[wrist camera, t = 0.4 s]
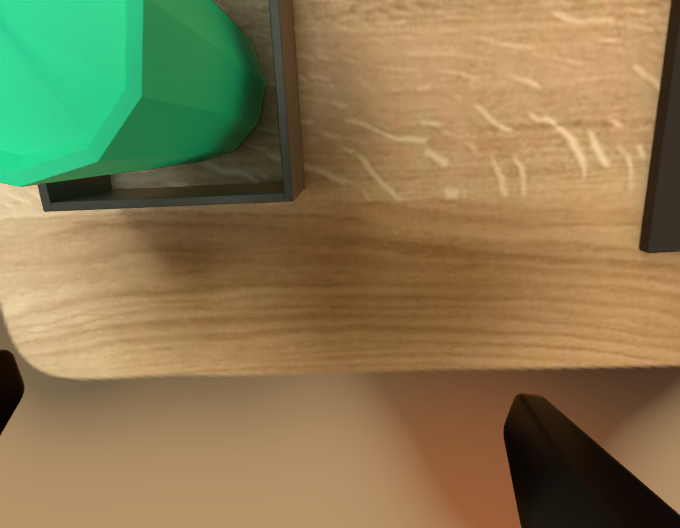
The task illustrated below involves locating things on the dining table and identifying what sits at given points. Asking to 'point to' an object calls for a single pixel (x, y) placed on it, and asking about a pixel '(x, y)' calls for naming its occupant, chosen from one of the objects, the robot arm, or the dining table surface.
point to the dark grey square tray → (101, 196)
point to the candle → (120, 87)
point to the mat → (666, 155)
